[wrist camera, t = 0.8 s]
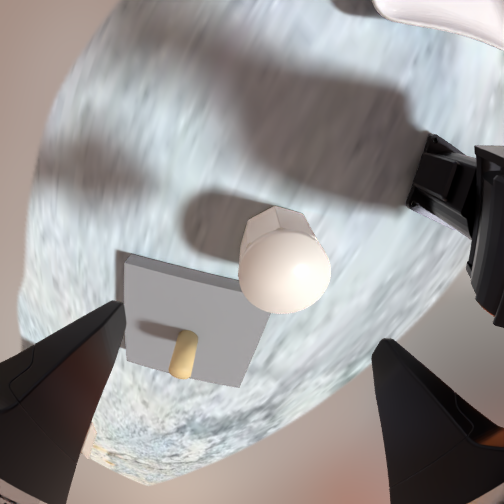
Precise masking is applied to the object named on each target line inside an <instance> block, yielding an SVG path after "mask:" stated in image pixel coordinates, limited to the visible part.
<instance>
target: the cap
mask: <svg viewBox="0 0 504 504" xmlns="http://www.w3.org/2000/svg"><path fill="white" fill-rule="evenodd" d="M330 276H331V266H330V261H329V259H328V256H327V254H326V253H325V251H324V249H323V247H322V246H321V244H320V243H319V242H318V240H317V238H316V236H315V234H314V232H313V231H312V229H311V227H310V225H309V223H308V222H307V220H306V218H305V216H304V214H302V213H299V212H295V211H292V210H288V209H284V208H281V207H277V206H275V207H274V206H273V207H271V208H269V209H267V210H266V211H264V212H262V213H260V214H258V215H256V216H254V217H252V218H251V219H249V220H248V221H247V225H246V228H245V232H244V235H243V239H242V242H241V246H240V257H239V269H238V277H239V284H240V287H241V290H242V292H243V294H244V296H245V297H246V298H247V299H248V301H249V302H251V303H252V304H253V305H254V306H256V307H257V308H259V309H261V310H264V311H266V312H270V313H276V314H288V313H294V312H298V311H300V310H303V309H305V308H307V307H309V306H311V305H312V304H313V303H315V302H316V301H317V300H318V299H319V298H320V297H321V296H322V295H323V293H324V292H325V290H326V288H327V286H328V284H329V281H330Z"/></svg>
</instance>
